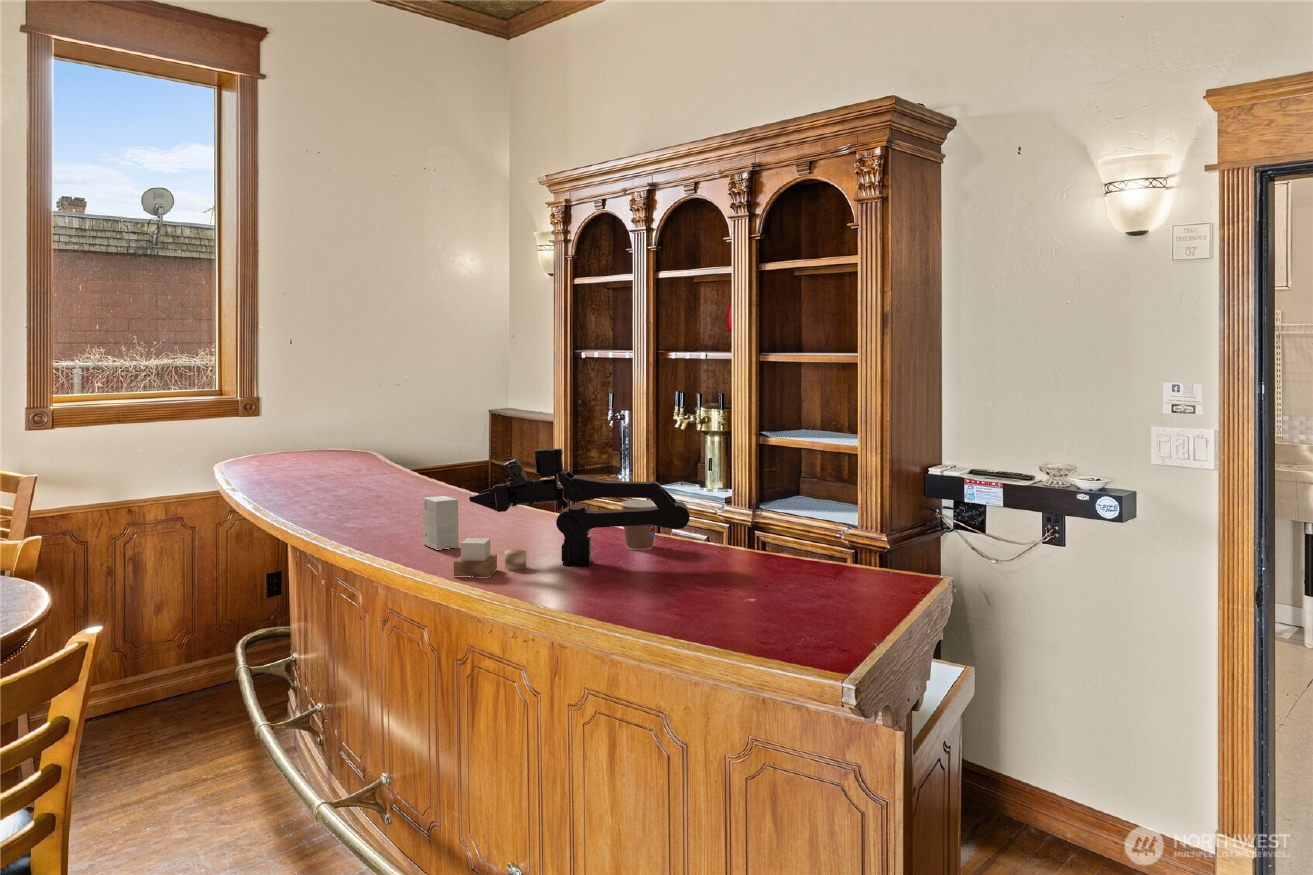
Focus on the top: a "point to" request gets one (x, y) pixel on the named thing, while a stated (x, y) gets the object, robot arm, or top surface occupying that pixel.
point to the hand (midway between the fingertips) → (474, 496)
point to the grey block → (475, 549)
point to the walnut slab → (475, 567)
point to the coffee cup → (639, 527)
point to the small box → (441, 522)
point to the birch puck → (515, 559)
